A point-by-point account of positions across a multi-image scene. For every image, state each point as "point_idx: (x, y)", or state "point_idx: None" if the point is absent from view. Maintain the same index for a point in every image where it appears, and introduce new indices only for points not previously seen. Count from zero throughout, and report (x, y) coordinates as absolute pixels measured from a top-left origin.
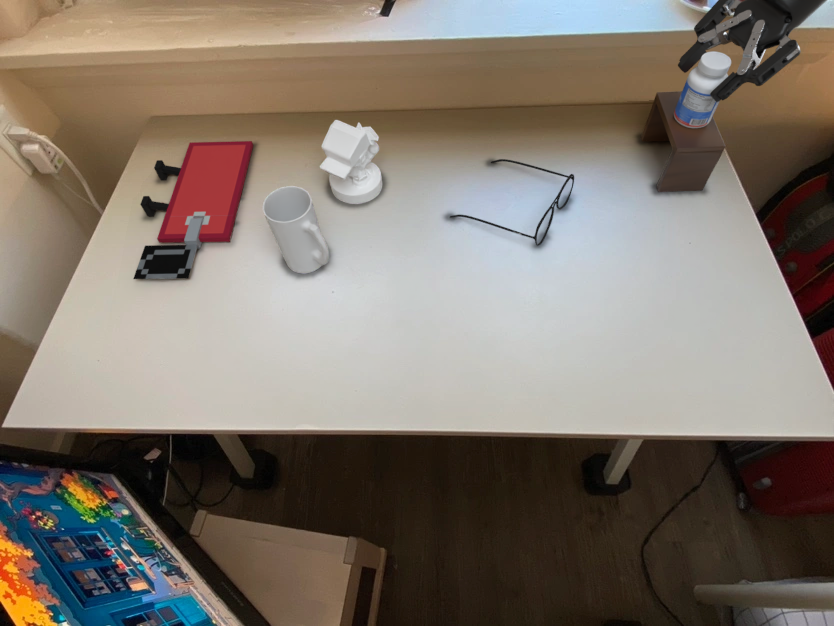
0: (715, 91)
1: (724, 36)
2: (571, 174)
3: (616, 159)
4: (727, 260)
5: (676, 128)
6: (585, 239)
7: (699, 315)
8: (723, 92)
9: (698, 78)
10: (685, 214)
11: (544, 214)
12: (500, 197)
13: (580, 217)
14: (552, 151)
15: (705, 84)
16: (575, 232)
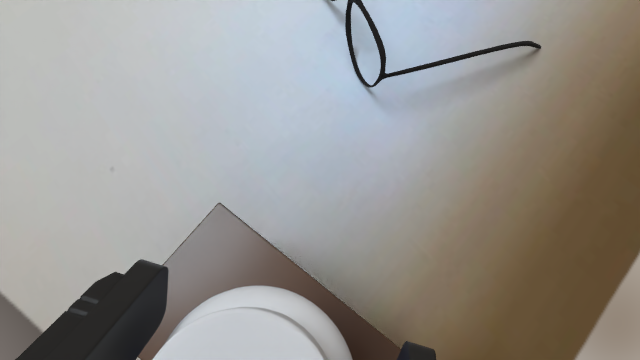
0: (141, 272)
1: None
2: (382, 49)
3: (384, 249)
4: (28, 188)
5: (277, 277)
6: (268, 38)
7: (15, 53)
8: (100, 288)
9: (272, 309)
10: (162, 228)
11: None
12: (448, 3)
13: (312, 68)
14: (494, 159)
15: (221, 303)
16: (292, 37)
